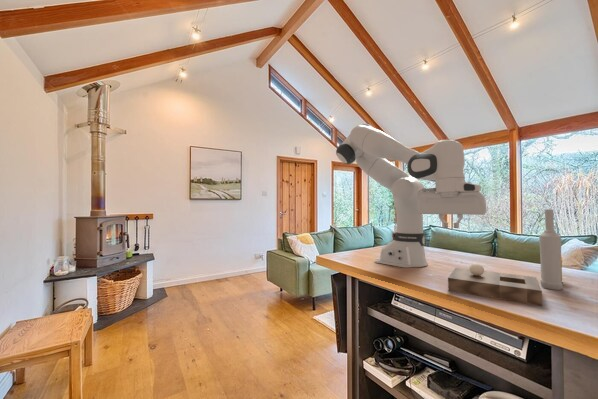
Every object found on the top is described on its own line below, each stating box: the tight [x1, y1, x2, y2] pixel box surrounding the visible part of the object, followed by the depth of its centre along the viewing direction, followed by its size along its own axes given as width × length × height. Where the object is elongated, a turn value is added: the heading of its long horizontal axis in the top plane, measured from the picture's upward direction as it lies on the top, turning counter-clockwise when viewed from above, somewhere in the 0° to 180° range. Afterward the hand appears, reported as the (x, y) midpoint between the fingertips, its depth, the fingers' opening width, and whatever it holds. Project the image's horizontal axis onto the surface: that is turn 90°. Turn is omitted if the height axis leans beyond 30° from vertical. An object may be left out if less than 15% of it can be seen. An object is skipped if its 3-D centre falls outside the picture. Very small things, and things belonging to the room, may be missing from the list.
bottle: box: [538, 209, 563, 291], centre depth 86 cm, size 5×5×25 cm
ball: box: [468, 262, 485, 276], centre depth 87 cm, size 4×4×4 cm
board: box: [447, 267, 543, 307], centre depth 84 cm, size 22×16×4 cm
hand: (450, 227), depth 91 cm, fingers closed
